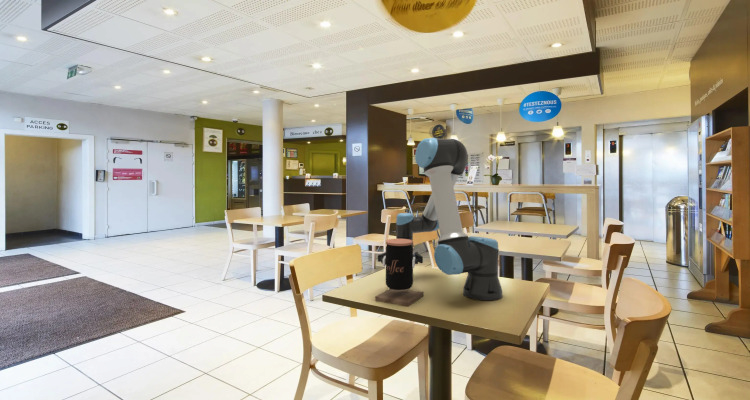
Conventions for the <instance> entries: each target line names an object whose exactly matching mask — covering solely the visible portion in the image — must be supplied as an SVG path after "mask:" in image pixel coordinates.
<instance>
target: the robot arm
mask: <svg viewBox="0 0 750 400" xmlns="http://www.w3.org/2000/svg"><path fill="white" fill-rule="evenodd" d="M414 156H415V158H414V160H415V162H416V165H417V166H418V167H420V168H423V172H424V175H425V176H427V177H428V178H429V182H430V187H431V193H430V196H429V199H428V201H427V203H426V206H425V207H424V210H423V212H422V214H421V216H413V215H414V214H413V213H409V212H400V213H397V214H396V221H395V222H396V223H395V224H396V225H395V226H396V227H395V228H396V236H395V237H396V238H395V239H409V240H412V241H413V242H414V239H413V238H414V237H413V236H414V234H417V233H418V234H419V233H431V232H436V231H437V230H439V235H440V237H439V238H438V240H437V246H436V247H435V249H434V252H433V256H434V262H435V264H436V266H437V268H438V269H439V270H440V271H441V272H442V273H444V274H445V275H449V276H453V275H456V276H457V275H461V274H464V273H465V274H466V273H467V276H466V279H465V282H464V284H463V287H462V290H463V291H462V294H463V296H464V297H466V298H469V299H472V300H478V301H496V300H500V299H502V298H503V289H502V286H501V282H500V280H499V251H500V249H499V243H498V241H497V239H493V238H491V237H490V238H489V237H482V236H475V235H470V236H469V235H468V234H467V233H465V232H464V231H463V226H462V221H461V216H460V212H459V207H458V202H457V197H456V193H455V189H454V187H455V185H456V183H457V181H458V178H459V177H461V176H462V175H463V174H464V172H465V171H466V168H467V164H468V158H469V157H468V151H467V147H466V146H465V145H464V143H463V142H462V141H460V140H457V139H454V138H438V137H429V138H428V137H427V138H423V139H422V140H421V141H419V142H418V145H417V147H416V150H415V154H414ZM412 247H413V248H414V243H413V244H412ZM377 262H379V263H381V264H382V268H386V251H384V252H382V253H380V254H378V255H377ZM423 263H424V258H423V255H421V254H420V253H419V252H418V251H415V252H413V260H412V268H413V269H414V268H415V266H416V265H418V264H423Z"/></svg>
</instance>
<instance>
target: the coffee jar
mask: <svg viewBox="0 0 750 400" xmlns="http://www.w3.org/2000/svg"><path fill="white" fill-rule="evenodd" d="M385 244H386V246H385V252H386V265H385V285H386V287H387V288H388V289H393V290H410V289H411V288H412V287H413V284H414V268H412V260H413V254H414V246H413V247H412V244H413V245H414V240H413V241H412V240H409V239H396V238H390V239H387V240H385Z"/></svg>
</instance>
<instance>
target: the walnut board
mask: <svg viewBox="0 0 750 400" xmlns="http://www.w3.org/2000/svg"><path fill="white" fill-rule="evenodd" d="M422 297H424V292H423V291H417V290H411V289H406V290H393V289H390V288H388V289H386V290H385V291H383V292H381V293H379V294H377V295H376V296H374V300H375V301H376V302H382V303H388V304H393V305H397V304H398V305H399V306H403V307H409V306H411V305H413V304H414V303H416V302H417V301H418V300H419V299H421V298H422ZM398 305H397V306H398Z"/></svg>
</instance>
